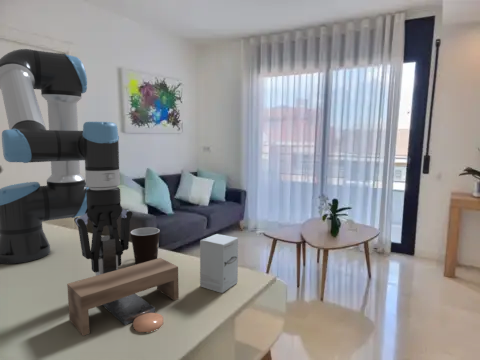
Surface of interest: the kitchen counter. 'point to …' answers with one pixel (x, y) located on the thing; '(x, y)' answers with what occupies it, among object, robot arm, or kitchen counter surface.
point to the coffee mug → (145, 244)
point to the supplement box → (218, 262)
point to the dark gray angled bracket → (126, 306)
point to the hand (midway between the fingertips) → (107, 281)
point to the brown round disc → (148, 322)
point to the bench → (119, 288)
